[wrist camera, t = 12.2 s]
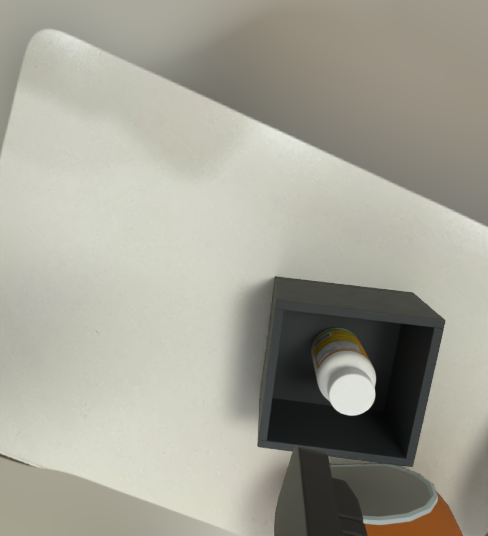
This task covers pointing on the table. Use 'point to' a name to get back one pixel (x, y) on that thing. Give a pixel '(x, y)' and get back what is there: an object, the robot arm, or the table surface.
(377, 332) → the bin
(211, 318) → the table surface
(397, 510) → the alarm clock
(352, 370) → the supplement bottle
